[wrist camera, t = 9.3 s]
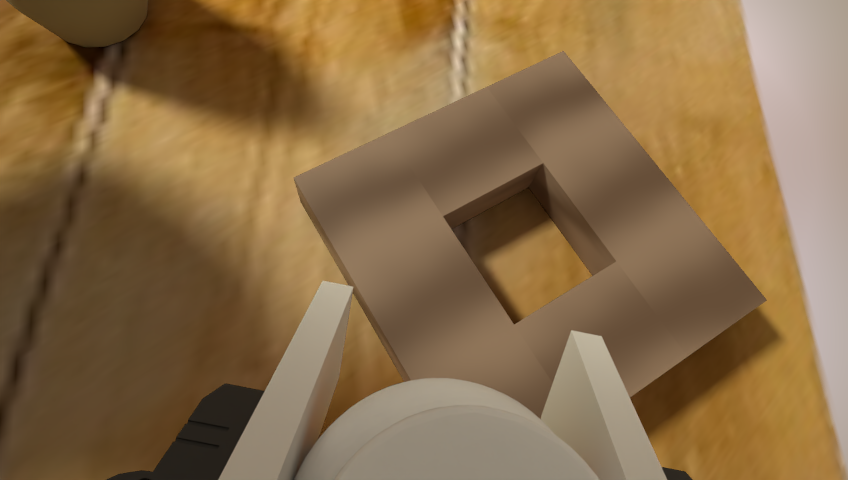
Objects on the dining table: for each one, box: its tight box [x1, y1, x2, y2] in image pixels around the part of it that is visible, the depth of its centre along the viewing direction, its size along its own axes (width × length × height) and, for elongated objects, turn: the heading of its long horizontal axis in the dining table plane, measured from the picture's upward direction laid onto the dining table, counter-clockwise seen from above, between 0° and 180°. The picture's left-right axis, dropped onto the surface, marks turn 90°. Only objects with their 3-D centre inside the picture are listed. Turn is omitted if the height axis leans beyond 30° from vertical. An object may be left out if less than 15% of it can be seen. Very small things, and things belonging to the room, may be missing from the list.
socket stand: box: [294, 51, 766, 419], centre depth 29 cm, size 18×18×3 cm
